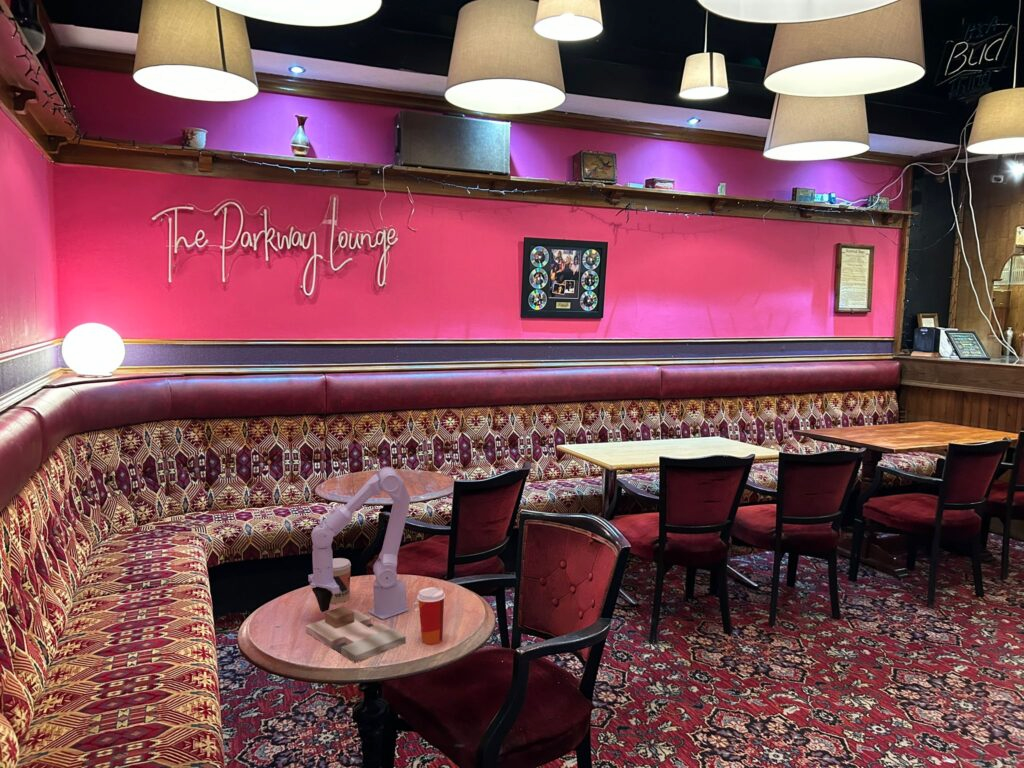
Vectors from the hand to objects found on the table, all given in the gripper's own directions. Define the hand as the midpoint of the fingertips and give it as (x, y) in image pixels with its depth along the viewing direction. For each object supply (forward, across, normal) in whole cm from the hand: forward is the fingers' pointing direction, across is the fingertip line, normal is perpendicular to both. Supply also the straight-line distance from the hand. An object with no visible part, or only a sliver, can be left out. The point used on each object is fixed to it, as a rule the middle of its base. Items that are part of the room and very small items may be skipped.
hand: (324, 610), depth 215 cm
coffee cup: (+3, -12, +11) cm, 16 cm away
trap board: (+3, +16, 0) cm, 17 cm away
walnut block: (+1, +8, 0) cm, 8 cm away
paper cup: (+3, +33, +14) cm, 36 cm away
